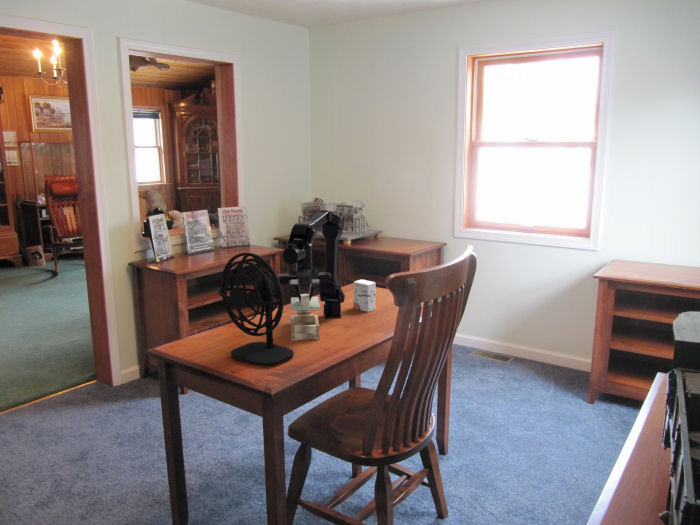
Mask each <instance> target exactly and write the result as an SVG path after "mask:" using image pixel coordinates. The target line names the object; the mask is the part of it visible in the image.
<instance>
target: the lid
mask: <svg viewBox="0 0 700 525" xmlns="http://www.w3.org/2000/svg"><path fill="white" fill-rule="evenodd" d="M300 295H301V302H300V301H299V298H298V296H297V297H290V306H291V307H290V308H291V309H290V310H291V311H292V312H293V311H297V310H310V311H312V310H313V311H315V310H316V311H317V310H321V306H320V300H319V296H312V298H311V301H310V300H309V293H300Z"/></svg>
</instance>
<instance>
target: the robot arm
mask: <svg viewBox="0 0 700 525" xmlns="http://www.w3.org/2000/svg"><path fill="white" fill-rule="evenodd" d="M320 228H321V234H322V236H323V238H324V239H325V258H324V259H325V260H324V261H325V264H324V271H322V272H321V271H320V272H319V273H318V269H317V268H313V248H312V247H313V245H314V244H315V242H314V241H313V240H314V238H315V237H316V234H317V231H318V230H319V229H320ZM344 229H345V223H344V220H343V219H342V218H341V217H340V216H338V215H336V214H334V212H333V211H331V210H329V209H320V210H318V211H317V212H316V213H315V214H314V215H313V216H311V217H310V218H308V219H307V220H305V221H299V222H297V223H294V225H293V226H292V228H291V229H290V230H291V231H290V234H289V238H288V240H287V248H285V249H284V251H283V253H282V259H283V261H284V262H285V263H286V264H287V265H295V273H296V274H295V275H290V272H287V273H279V274H277V277H278V279H279V281H280V284H281V285H288V284H290V287H293V288H294V290H295V292H296V296H297V297H298V298H299V301H300V302H301V290H300V285H305V284H306V285H309V293H308V294H309V300H310V301H311V298H312V297H313V294H314V292H315V289H316V287H317V286H319V290H318V295H319V299H320V300H319V301H320V302H324V303H323V305H322V306H323V307H322V308H323V309H322V313H323V316H324V318H325V319H337V318H338V319H341V318H342V313H341V312H342V303H344V302H345V299H346V295H345V293H344V292H343V289H342V286H341V285H342V283H341V281H340V280H339V278H338V261H339V260H338V259H339V258H338V256H339V240H340V238H341V237H342V235H343V231H344Z"/></svg>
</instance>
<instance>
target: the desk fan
mask: <svg viewBox="0 0 700 525" xmlns="http://www.w3.org/2000/svg"><path fill="white" fill-rule="evenodd" d="M240 257H242V259H241V260H239V261H235V260H236V259H238V258H240ZM248 257H252V258H248ZM247 258H248V259H247ZM234 261H235V262H234ZM253 262H254V263H253ZM255 263H256V264H255ZM244 264H246V265H248V266H250V267H252V268H253V269H250V270H249V271H248V272H247V273H246V274H245V273H242V270H243V267H244ZM234 266H235V268H234V269H233V271H232V274H231V275H230V276H229V277H228V274H229V272H230V271H231V270H232V268H233V267H234ZM262 266H263V267H264V268H265V269H263V267H262ZM223 268H224V269H223V270H222V274H221V281H220V288H219V289H218V292H217V293H218V295H219V296H220V297H221V299H222V302H223V306H224V308H225V311H226V313H227V315H228V317H229V318H230V320H231V321H232V322H233V324H234V325H235V326H236V327H237V328H238V330H241V332H243V333H244V334H246V335H249V336H251V337H263V336H265V339H266V341H253V342H249V343H246V344H243V345H240V346H239V347H236V348H234V349H232V350H231V351H230V356H231V357H232V358H233V359H235V360H237V361H240V362H244V363H246V364H250V365H253V366H258V367H271V366H272V367H273V366H276V365H280V364H282V363H284V362H286V361H289V360H290V359H292V358H293V357H294V355H295V353H294V352H295V351H294V350H293V349H292V348H290V347H286V346H284V345H283V346H282V345H279V344H275V343H274V330H275V329H276V328H277V327H278V325H279V323H280V322H281V319H282V317H283V316H282V315H283V313H284V306H285V304H284V302H285V301H284V300H285V298H284V292H283V289H282V284H280V281H279V279H278V274H277V273H276V272H275V269H274V268H273V267H272V265H271V264H270V263H269V262H268V261H267V260H266V259H264V257H262V256H260V255H258V254H257V253H253V252H242V253H238V254H236V255H234V256H232V257H231V258H230V259H229V260H228V261H227V263H226V264H225V266H224V267H223ZM254 271H257V272H258V273H259V275H260V280H258V281H257V283H256V282H254V280H253V279H252V278H251V277H250V274H251V273H252V272H254ZM236 276H237V277H236ZM241 276H242V277H244V279H243V284H242V287H240V284H241V283H240V282H241ZM267 276H268V277H269V278H268V277H267ZM227 277H228V278H227ZM235 278H236V286H235ZM247 280H248V281H249V282H250V283H251V285H252V287H253V288H249V287H248V288H247V286H246V285H247ZM229 282H230V287H228V285H229ZM227 292H229V295H228V294H227ZM247 292H251V293H256V297H257V300H250V299H248V295H247ZM274 300H275V301H274ZM246 304H247V305H248V307H249V308H250V309H251V311H253V312H254V315H253V316H252V317H251V318H249V319H248V318H247V316H245V314H244V313H243V312H242V310H244V308H245V307H246ZM252 305H256V306H257V307H256V309H255V307H253V306H252ZM231 306H232V307H233V308H234V309H235V310H236V312H237V313H238V315H237V314H235V312H234V311H233V310H232V307H231ZM260 307H261V311H260ZM276 309H277V311H276V313H275V315H274V317H273V313H274V311H275V310H276ZM257 315H260V317H259V321H258V324H257V323H255V322H253V320H255V318H256V317H257ZM264 316H265V321H264V322H263V319H264ZM245 323H247V324H248V325H250V326H252V327H249V326H246V325H245ZM254 327H255V328H254ZM263 328H265V331H264V332H259V331H260V330H261V329H263Z"/></svg>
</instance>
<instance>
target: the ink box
mask: <svg viewBox="0 0 700 525" xmlns="http://www.w3.org/2000/svg"><path fill="white" fill-rule="evenodd" d="M376 287H377V286H376V282H375V281H371V280H366V279H359V280H355V281H353V309H354V310H359V311H364V312H368V313H369V312H372V311H376V291H377V290H376V289H377V288H376Z"/></svg>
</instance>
